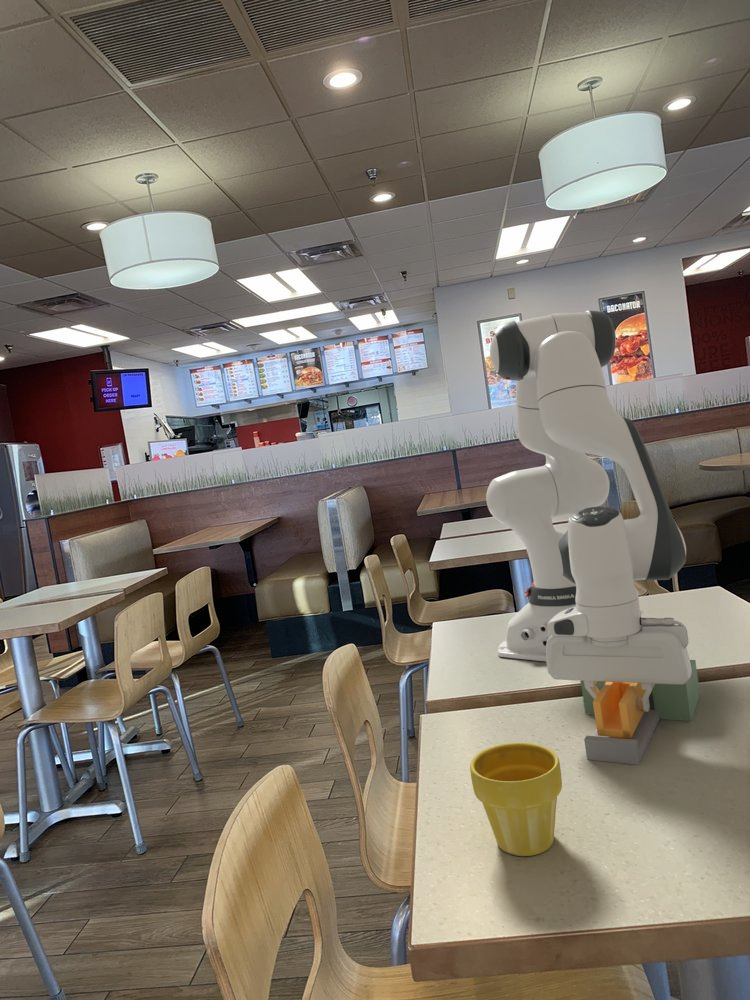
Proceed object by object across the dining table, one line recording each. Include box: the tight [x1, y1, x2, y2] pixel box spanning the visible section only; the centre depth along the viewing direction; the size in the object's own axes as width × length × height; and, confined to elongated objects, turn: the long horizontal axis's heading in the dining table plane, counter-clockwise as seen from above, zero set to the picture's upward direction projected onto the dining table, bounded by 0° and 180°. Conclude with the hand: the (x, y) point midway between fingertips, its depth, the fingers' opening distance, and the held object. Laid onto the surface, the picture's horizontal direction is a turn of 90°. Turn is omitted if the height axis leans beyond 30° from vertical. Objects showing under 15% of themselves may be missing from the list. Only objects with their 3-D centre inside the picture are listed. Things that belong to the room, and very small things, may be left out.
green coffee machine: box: [579, 659, 701, 766], centre depth 107 cm, size 16×25×11 cm, turn 147°
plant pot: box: [469, 742, 563, 857], centre depth 82 cm, size 10×10×10 cm
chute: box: [593, 682, 646, 738], centre depth 103 cm, size 5×12×5 cm, turn 147°
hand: (622, 708), depth 103 cm, fingers closed on chute, 5 cm apart
